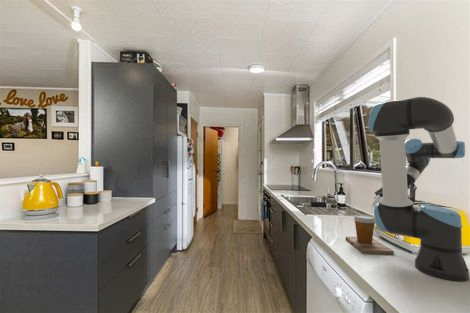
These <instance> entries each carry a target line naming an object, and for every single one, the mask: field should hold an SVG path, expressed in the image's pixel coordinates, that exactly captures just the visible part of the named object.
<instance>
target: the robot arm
mask: <svg viewBox="0 0 470 313" xmlns="http://www.w3.org/2000/svg"><path fill="white" fill-rule="evenodd" d="M454 116H455V115H454V114H453V111H452V110H451V109H450V107H449V106H447V104H445V103H443V102H442V101H439V100H437V99H435V98H431V97H428V96H427V97H426V96H415V97H411V98H405V99H404V98H402V99H398V100H389V101H383V102H380V103H377V104H374V105H373V106H372V107H371V109H370V111H369V117H368V121H367V122H368V130H369V131H370V133H374V137H375V139H377V140H378V141H379V154H380V170H381V171H380V172H381V185H382V186H381V187H380V188H379V189H377V190H375V191H374V194H375V197H374V198H373V200H372V202H371V203H370V204H371V206H372V207H373V208H374V212H373V215H374V216H373V217H375V225H376V226H377V228H378V229H379V230H380V231H381V232H384V233H389V234H391V235H398V236H405V237H409V238H415V239H419V240H420V241H419V242H420V245H419V249H418V251H417V254H416V257H415V258H414V267H415V268H416V269H417V270H419V271H421V272H422V273H424V274H426V275H429V276H432V277H435V278H437V279H438V278H439V279H442V280H443V279H444V280H448V281H456V282H465V281H468V280H470V270H469V268H468V266H467V263H466V260H465V258H464V256H463V243H462V242H463V240H462V238H463V236H462V234H463V233H462V228H463V224H462V216H461V214H460V213H459V212H457V211H455V210H452V209H449V208H446V207H443V206H442V207H441V206H436V205H430V204H429V205H428V204H420V206H419V207H415V206H414V203H416V190H417V189H418V187H417V185H416V184H415V183H416V181H417V180H418V179H419V178H420V177H421V175H422V173H423V172H424V170H425V169H426V168H427V167H428V166H429V164H430V162H431V159H462V158H464V157H465V155H466V144H465V141H457V137H456V134H455V131H454V126H453V124H454V122H455V121H454V120H455V117H454ZM417 129H418V130H419V129H420V130H421V129H423V130H425V131H427V133H428V135H429V137H430V139H431V141H432V142H423V141H422V139H419V138H409V139H407V140H406V138H407V137H409V135H410V134H411V133H410V130H417ZM408 190H409V192H408Z"/></svg>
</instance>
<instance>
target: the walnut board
mask: <svg viewBox="0 0 470 313" xmlns="http://www.w3.org/2000/svg"><path fill="white" fill-rule="evenodd" d="M345 240H346V241H347V242H348V243H349V244H351V245H352V246H353V247H355V248H356V250H358V251H360V252H361V253H362V254H372V255H395V250H393V249H392V248H389V247H388V246H387V245H385V244H383V243H381V242H380V241H378V240H377V239H375V238H372V243H362V242H359V241H357V236H345Z"/></svg>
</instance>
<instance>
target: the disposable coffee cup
mask: <svg viewBox="0 0 470 313" xmlns="http://www.w3.org/2000/svg"><path fill="white" fill-rule="evenodd" d="M353 220H354V225H355V232H356V233H355V234H356V237H357V241H359V242H362V243H372V238H373V237H374V231H375V225H376V222H375V217H374V216H372V215H367V214H355V215H354V216H353ZM373 239H374V238H373Z"/></svg>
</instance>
